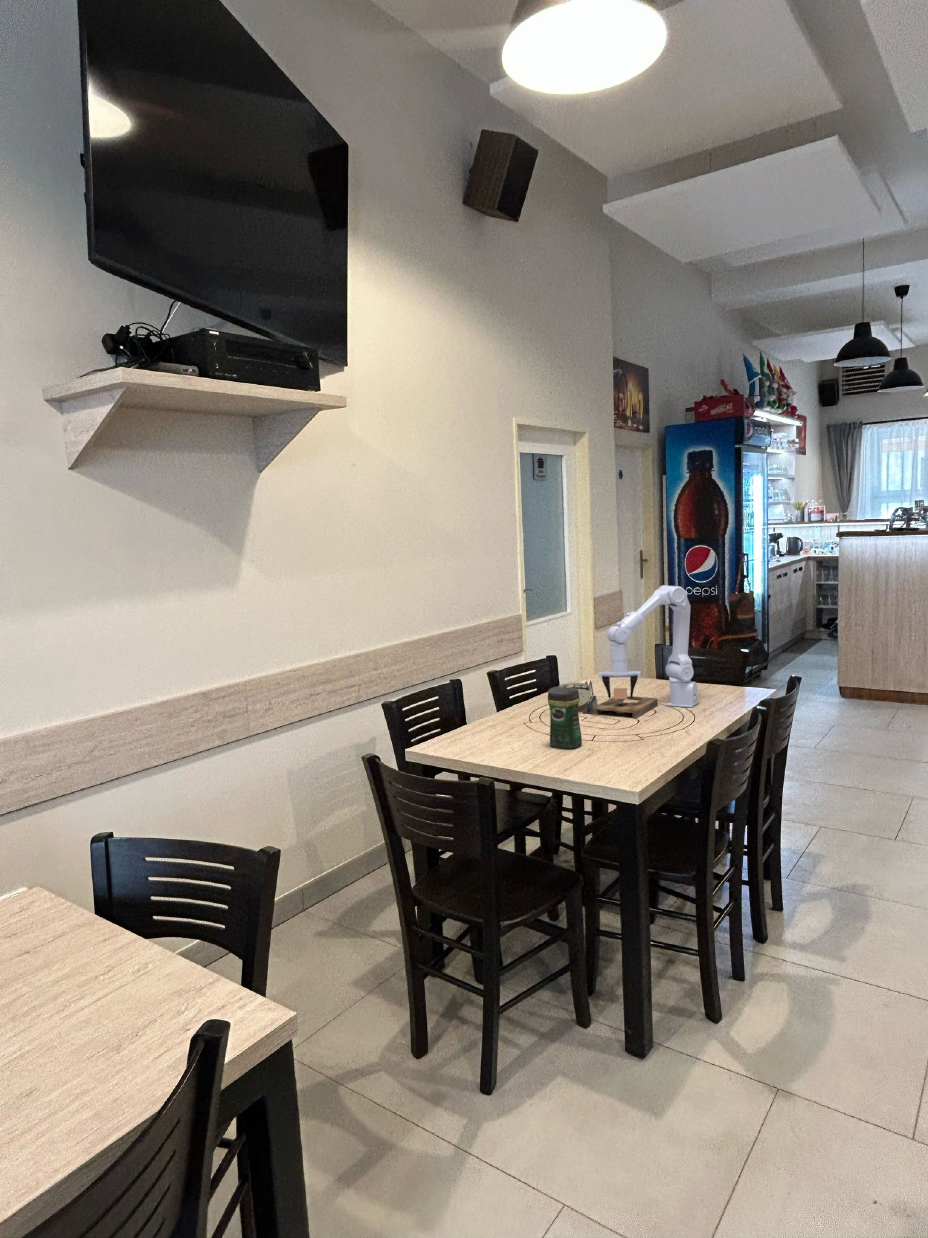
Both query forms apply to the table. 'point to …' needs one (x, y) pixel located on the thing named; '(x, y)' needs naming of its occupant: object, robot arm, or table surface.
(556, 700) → the coffee jar
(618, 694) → the key peg
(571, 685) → the food container
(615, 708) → the keyhole plate
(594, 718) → the table surface
